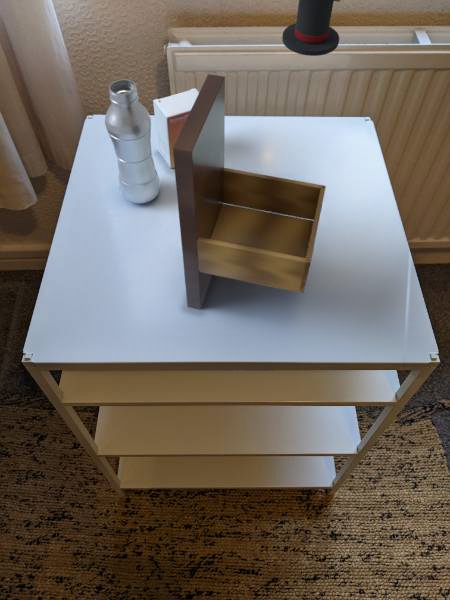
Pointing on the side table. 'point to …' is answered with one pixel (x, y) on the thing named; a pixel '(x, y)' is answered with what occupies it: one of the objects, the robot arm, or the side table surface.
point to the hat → (312, 29)
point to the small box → (172, 120)
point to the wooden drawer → (237, 210)
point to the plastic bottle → (132, 142)
